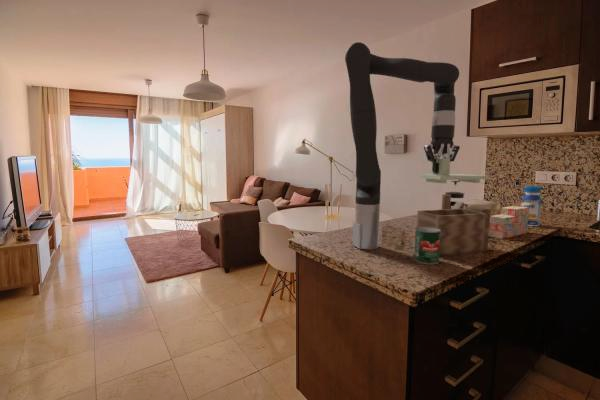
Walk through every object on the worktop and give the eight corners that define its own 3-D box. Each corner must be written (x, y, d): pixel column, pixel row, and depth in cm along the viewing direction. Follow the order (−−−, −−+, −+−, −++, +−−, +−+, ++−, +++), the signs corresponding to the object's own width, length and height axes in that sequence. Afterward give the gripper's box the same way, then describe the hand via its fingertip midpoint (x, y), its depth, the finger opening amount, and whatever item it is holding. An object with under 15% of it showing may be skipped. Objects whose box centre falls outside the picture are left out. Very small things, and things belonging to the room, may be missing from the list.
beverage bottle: (543, 226, 164) (547, 186, 162) (530, 227, 162) (534, 187, 160) (528, 223, 172) (531, 185, 170) (515, 223, 170) (518, 185, 168)
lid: (439, 183, 111) (441, 158, 110) (418, 181, 123) (420, 158, 122) (487, 183, 116) (490, 158, 115) (463, 180, 128) (465, 158, 127)
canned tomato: (425, 256, 116) (426, 225, 114) (444, 262, 109) (446, 230, 107) (408, 259, 112) (410, 227, 111) (427, 265, 105) (428, 232, 104)
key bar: (493, 209, 118) (493, 203, 118) (468, 205, 130) (469, 199, 130) (499, 209, 119) (500, 203, 119) (474, 204, 131) (475, 199, 130)
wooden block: (461, 232, 151) (464, 194, 149) (444, 234, 147) (446, 195, 145) (455, 230, 155) (457, 193, 152) (438, 232, 151) (440, 194, 148)
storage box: (435, 256, 115) (438, 216, 113) (415, 247, 126) (417, 210, 124) (482, 252, 120) (485, 213, 118) (459, 244, 131) (461, 208, 129)
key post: (478, 251, 122) (481, 209, 120) (463, 245, 129) (465, 206, 127) (487, 250, 123) (490, 209, 121) (471, 244, 130) (474, 206, 128)
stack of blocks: (503, 239, 139) (505, 211, 137) (488, 236, 144) (490, 209, 143) (527, 233, 150) (529, 206, 149) (512, 230, 156) (514, 205, 154)
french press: (437, 225, 167) (440, 180, 164) (447, 223, 173) (450, 179, 170) (460, 229, 158) (463, 182, 155) (470, 226, 164) (473, 181, 160)
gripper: (432, 123, 110) (429, 174, 112) (467, 124, 114) (464, 174, 116) (419, 125, 117) (416, 173, 120) (452, 126, 121) (449, 172, 123)
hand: (440, 173), depth 118 cm, fingers closed on lid, 3 cm apart
